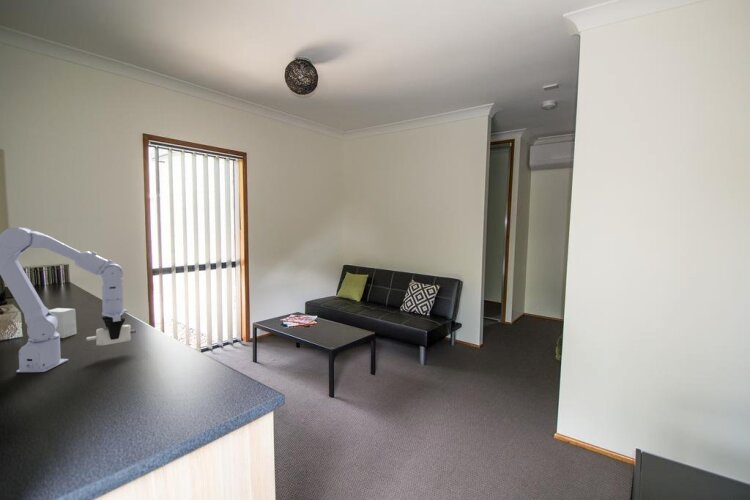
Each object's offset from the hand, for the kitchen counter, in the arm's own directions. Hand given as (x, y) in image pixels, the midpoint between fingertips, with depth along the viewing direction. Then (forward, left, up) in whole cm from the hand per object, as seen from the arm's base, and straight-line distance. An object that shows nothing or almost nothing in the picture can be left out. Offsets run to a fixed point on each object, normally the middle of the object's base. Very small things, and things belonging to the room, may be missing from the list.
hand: (113, 337), depth 120 cm
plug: (0, 0, -2) cm, 2 cm away
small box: (+21, +33, -6) cm, 40 cm away
